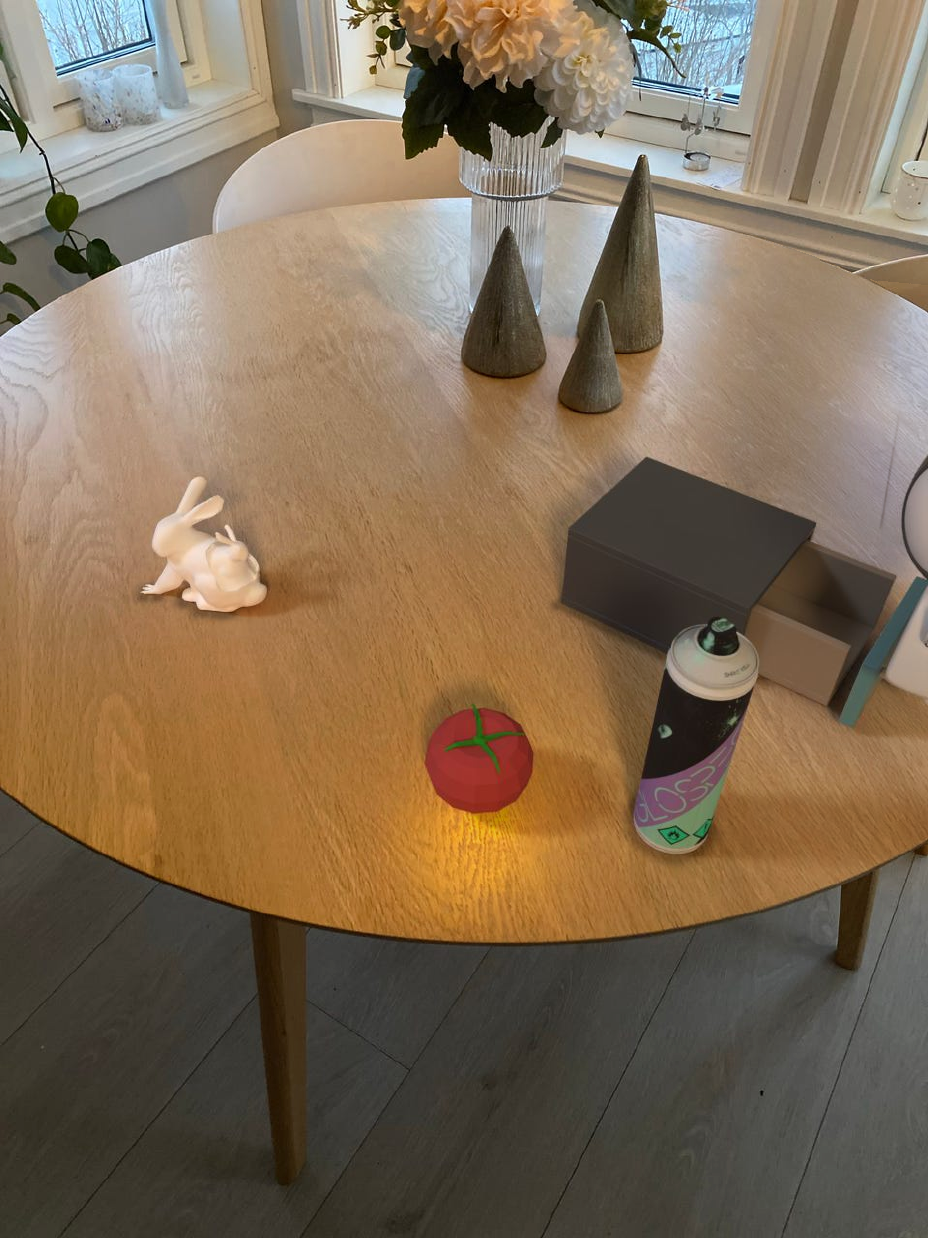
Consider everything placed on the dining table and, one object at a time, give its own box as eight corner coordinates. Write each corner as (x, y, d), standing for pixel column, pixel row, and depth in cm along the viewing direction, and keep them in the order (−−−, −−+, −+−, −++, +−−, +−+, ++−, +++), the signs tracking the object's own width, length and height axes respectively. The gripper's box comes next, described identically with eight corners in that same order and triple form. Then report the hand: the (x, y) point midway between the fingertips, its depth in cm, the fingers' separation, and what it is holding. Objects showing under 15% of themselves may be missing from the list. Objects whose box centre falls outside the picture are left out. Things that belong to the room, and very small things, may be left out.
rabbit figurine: (138, 593, 88) (112, 508, 81) (186, 545, 93) (165, 461, 86) (251, 628, 85) (233, 543, 78) (294, 577, 90) (281, 492, 83)
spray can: (624, 840, 69) (665, 643, 55) (643, 782, 73) (686, 584, 59) (700, 865, 67) (761, 669, 54) (715, 805, 71) (776, 607, 57)
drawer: (964, 665, 80) (995, 606, 76) (916, 759, 73) (947, 700, 68) (738, 569, 89) (754, 511, 85) (676, 644, 82) (689, 585, 77)
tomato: (522, 743, 75) (527, 676, 70) (540, 826, 70) (547, 761, 64) (421, 752, 75) (418, 686, 69) (430, 837, 69) (428, 772, 64)
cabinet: (793, 596, 88) (817, 522, 82) (728, 683, 80) (749, 608, 74) (634, 528, 95) (646, 455, 89) (560, 602, 87) (568, 528, 81)
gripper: (1002, 623, 58) (926, 765, 68) (1078, 469, 70) (1004, 608, 79) (898, 582, 61) (839, 724, 70) (988, 440, 73) (927, 578, 82)
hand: (927, 661), depth 75 cm, fingers closed
